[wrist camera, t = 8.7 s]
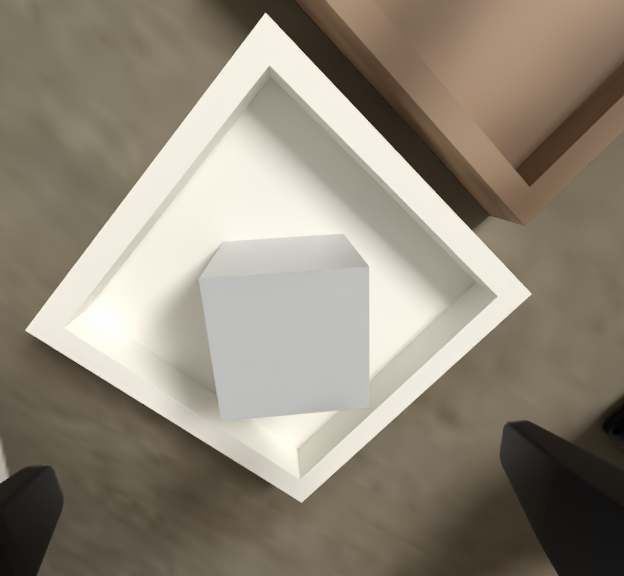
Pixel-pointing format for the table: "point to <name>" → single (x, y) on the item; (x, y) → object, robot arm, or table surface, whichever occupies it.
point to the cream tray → (264, 225)
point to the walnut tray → (493, 85)
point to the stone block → (287, 326)
